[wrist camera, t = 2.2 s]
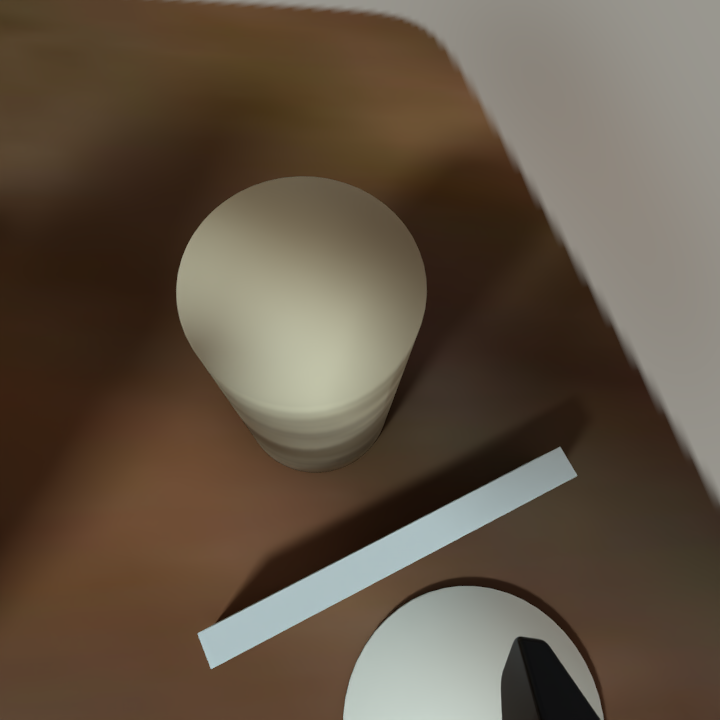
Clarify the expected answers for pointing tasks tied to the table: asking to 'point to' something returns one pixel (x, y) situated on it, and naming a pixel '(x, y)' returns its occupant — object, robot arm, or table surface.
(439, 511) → the acrylic wall
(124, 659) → the table surface
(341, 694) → the table surface
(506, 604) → the pad
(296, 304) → the birch cylinder
